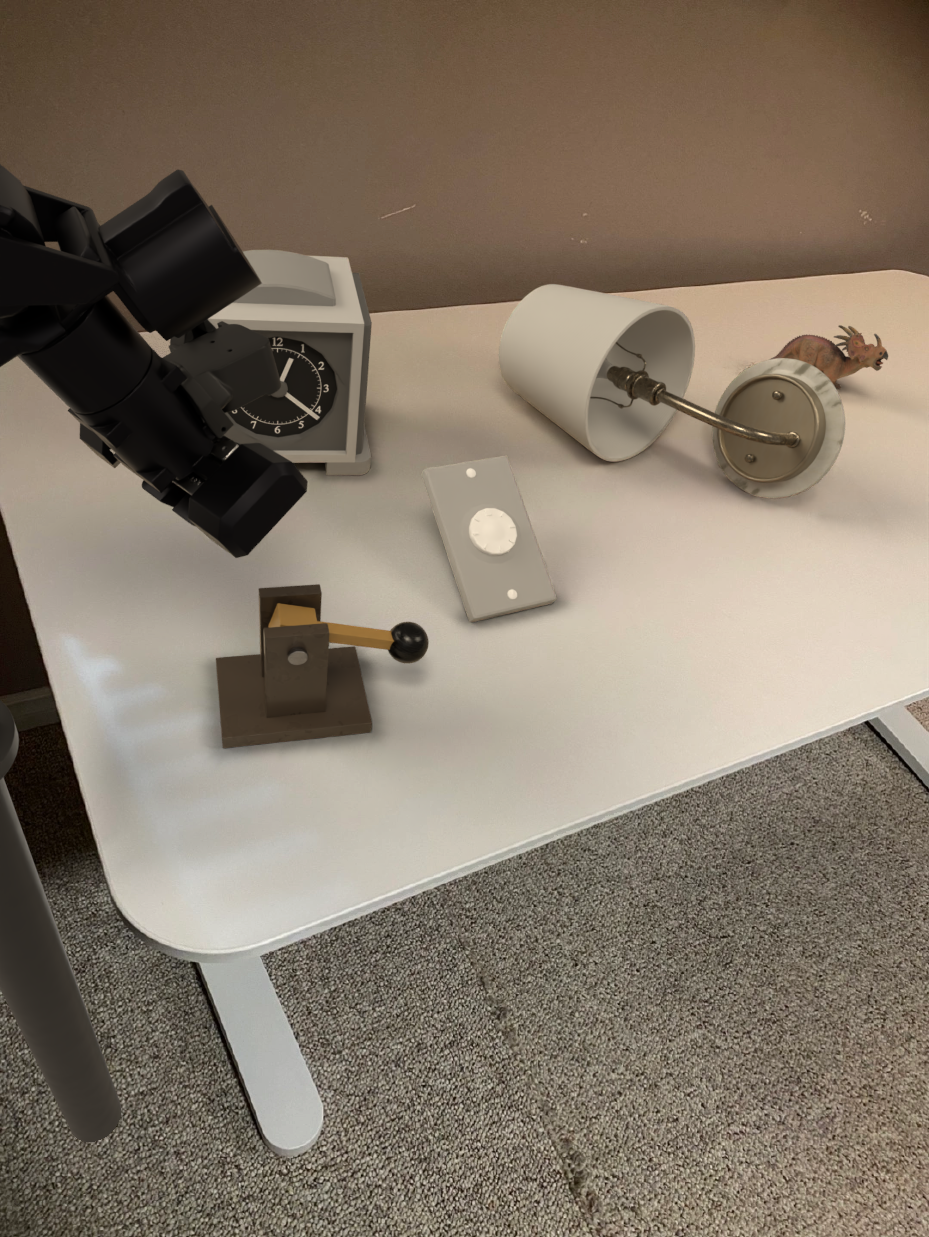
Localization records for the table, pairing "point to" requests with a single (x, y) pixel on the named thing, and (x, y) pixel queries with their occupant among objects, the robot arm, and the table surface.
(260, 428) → the alarm clock
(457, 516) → the light switch
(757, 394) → the light fixture
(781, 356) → the dinosaur figurine
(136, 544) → the table surface
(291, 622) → the lever
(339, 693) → the switch bracket
